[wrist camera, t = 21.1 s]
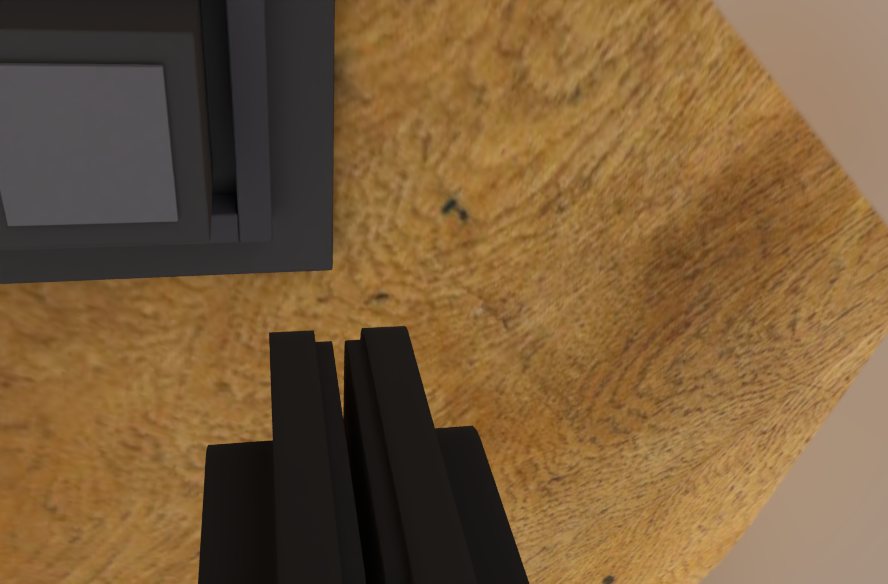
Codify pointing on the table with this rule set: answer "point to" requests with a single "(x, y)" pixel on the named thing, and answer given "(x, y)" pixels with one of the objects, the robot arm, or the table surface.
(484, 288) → the table surface
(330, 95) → the base pad
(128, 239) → the small cube
